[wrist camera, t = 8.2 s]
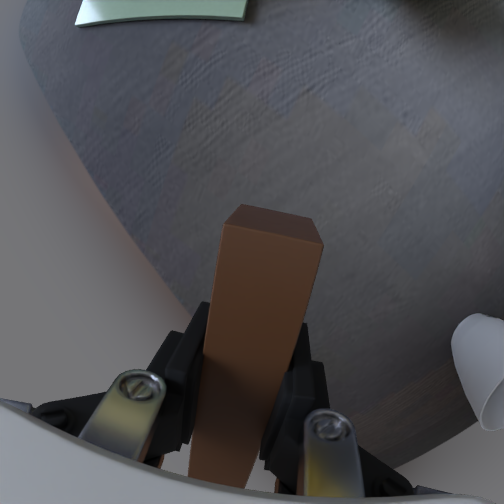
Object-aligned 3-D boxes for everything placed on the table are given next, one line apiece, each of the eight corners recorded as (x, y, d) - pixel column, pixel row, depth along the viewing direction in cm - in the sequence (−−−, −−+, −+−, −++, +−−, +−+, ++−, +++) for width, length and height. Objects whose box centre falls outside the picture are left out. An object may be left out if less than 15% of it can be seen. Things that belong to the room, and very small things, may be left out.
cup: (501, 345, 26) (548, 397, 16) (442, 380, 27) (478, 445, 18) (496, 285, 24) (557, 332, 14) (431, 323, 26) (479, 388, 16)
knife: (241, 203, 10) (221, 224, 7) (312, 218, 10) (326, 247, 6) (189, 516, 16) (180, 551, 13) (221, 523, 16) (214, 559, 13)
